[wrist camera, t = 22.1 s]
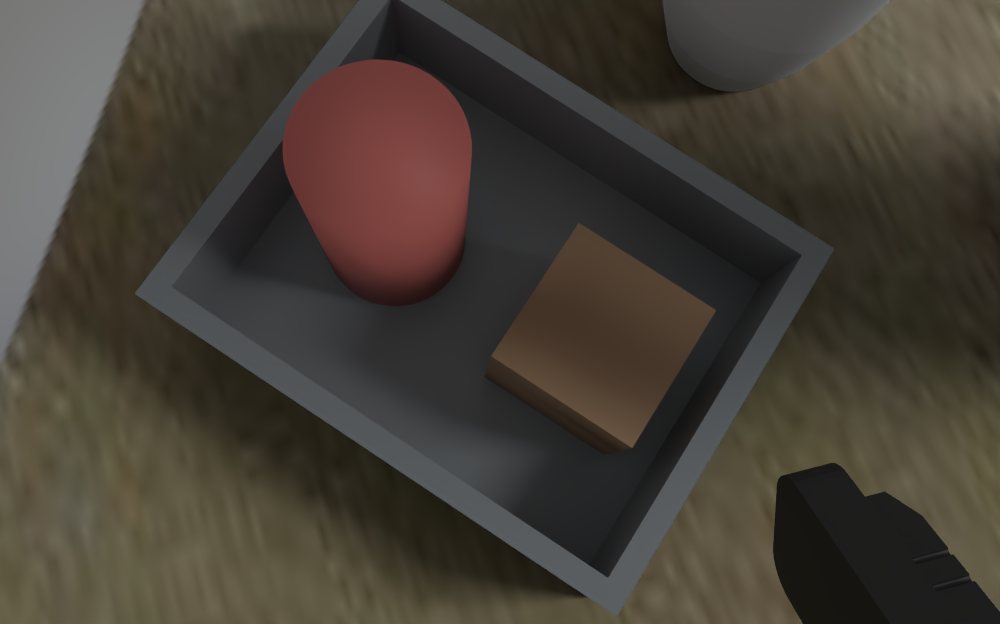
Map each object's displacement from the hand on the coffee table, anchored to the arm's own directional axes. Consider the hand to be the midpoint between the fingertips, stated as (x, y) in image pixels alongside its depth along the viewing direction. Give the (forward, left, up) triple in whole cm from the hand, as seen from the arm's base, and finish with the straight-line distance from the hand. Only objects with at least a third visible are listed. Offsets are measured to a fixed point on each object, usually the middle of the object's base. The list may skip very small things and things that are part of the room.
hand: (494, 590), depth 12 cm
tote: (-7, -4, -21) cm, 22 cm away
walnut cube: (-7, 0, -20) cm, 21 cm away
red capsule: (-7, -8, -20) cm, 22 cm away
